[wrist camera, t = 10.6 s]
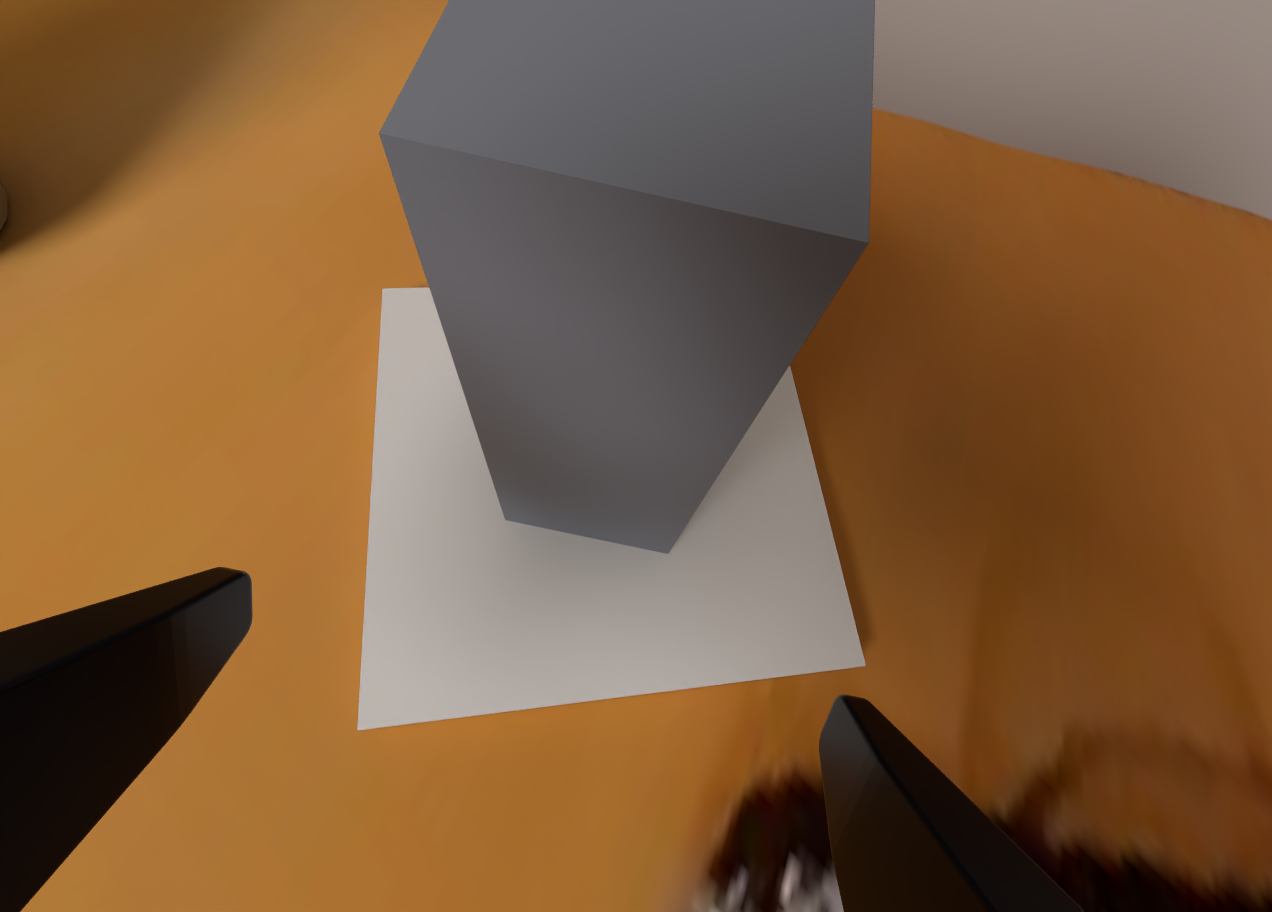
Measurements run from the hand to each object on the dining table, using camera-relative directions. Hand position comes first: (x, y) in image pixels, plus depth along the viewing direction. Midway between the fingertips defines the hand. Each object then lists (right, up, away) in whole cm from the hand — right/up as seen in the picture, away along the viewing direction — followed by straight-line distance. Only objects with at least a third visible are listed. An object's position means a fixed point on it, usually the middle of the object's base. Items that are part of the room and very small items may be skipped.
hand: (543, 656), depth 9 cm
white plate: (0, +3, +11) cm, 11 cm away
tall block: (0, +3, +10) cm, 10 cm away
